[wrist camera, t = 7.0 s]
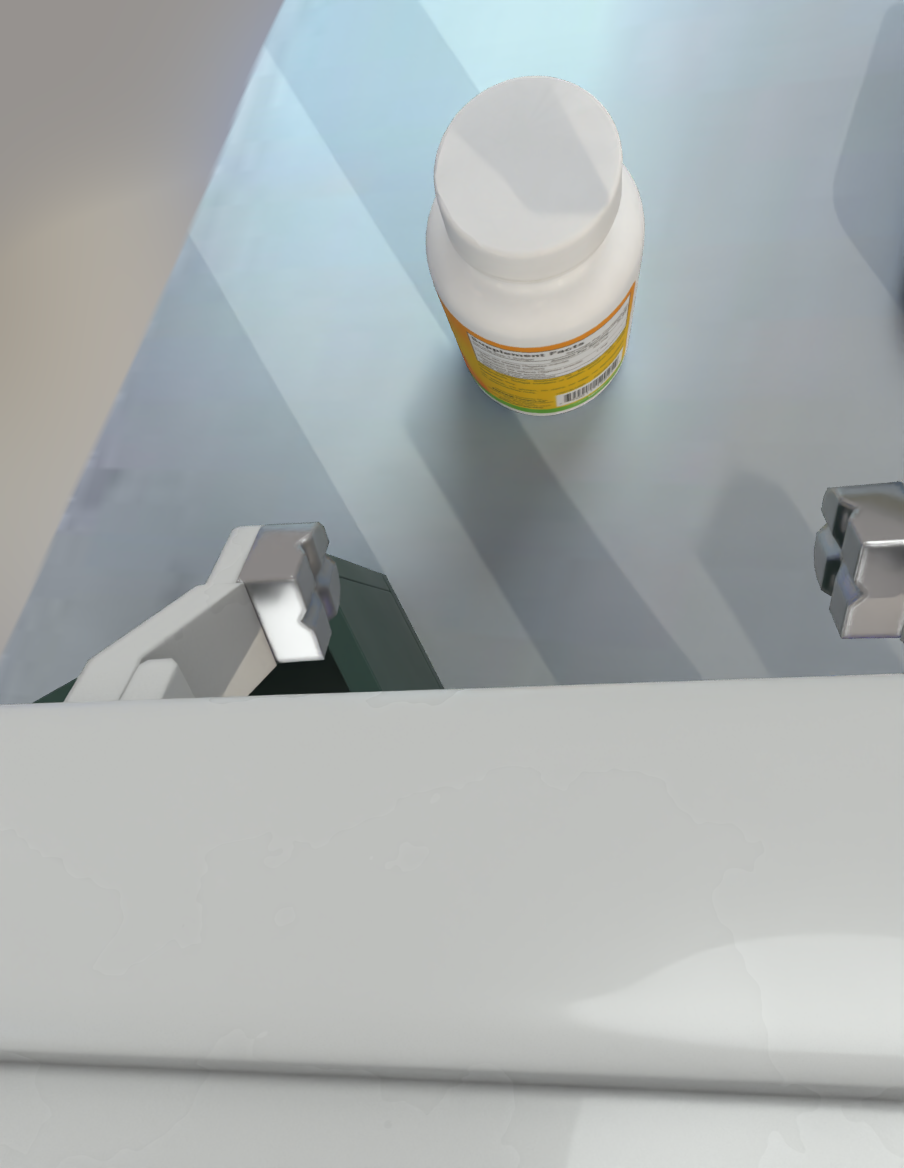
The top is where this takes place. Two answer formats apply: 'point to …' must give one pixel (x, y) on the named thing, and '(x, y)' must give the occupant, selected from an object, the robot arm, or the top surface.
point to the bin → (351, 647)
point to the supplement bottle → (536, 243)
